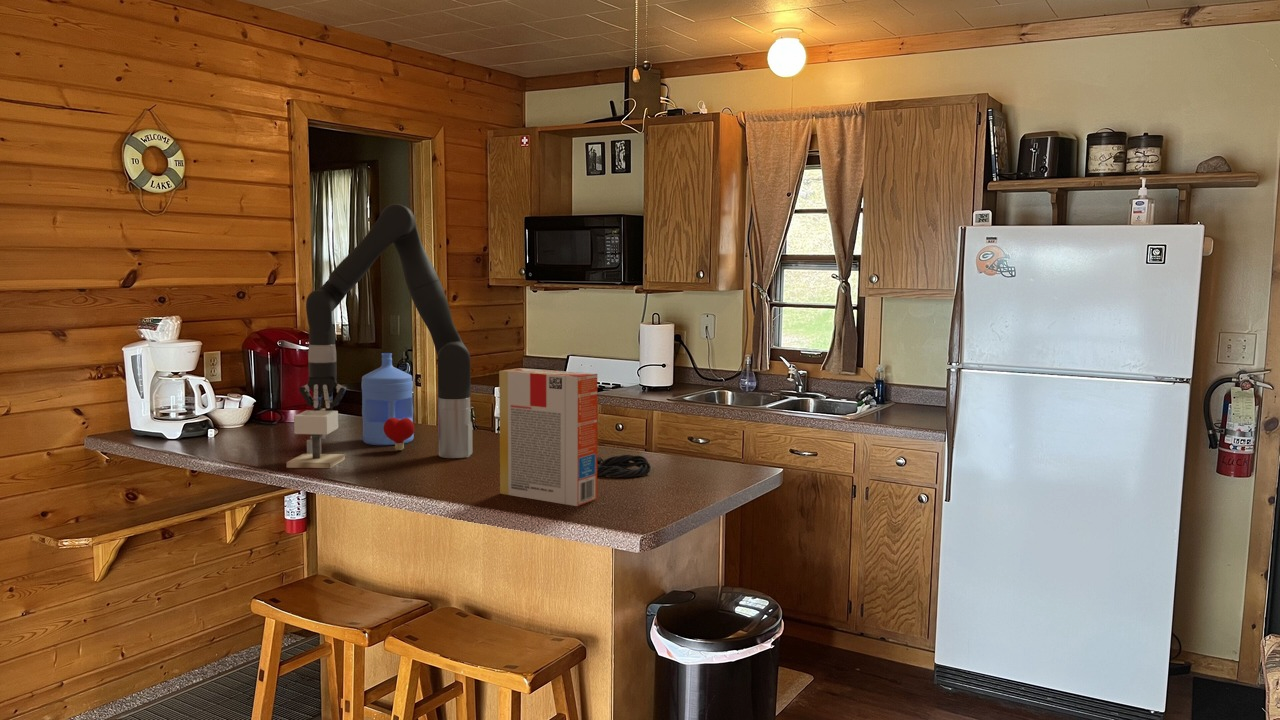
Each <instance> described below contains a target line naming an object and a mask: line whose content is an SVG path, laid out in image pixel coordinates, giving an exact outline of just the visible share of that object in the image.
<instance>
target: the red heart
mask: <svg viewBox="0 0 1280 720" xmlns="http://www.w3.org/2000/svg"><path fill="white" fill-rule="evenodd" d="M415 427H416V426H415V424H414V421H413V422H412V421H411V420H410V419H408V418H404V419H401V420H399V419H397V418H390V419H388V420H387V421H386V422H385V424H384V433H385V435H386V436H387V437H388V438H390V439H391V440H393V441H394V442H395V445H394V449H395V450H396V451H397V452H402V451H403V449H405V443H404V442H403V441H404V440H406V439H408V438H410V437H411V436H412V435H413V433H414V434H415V429H416V428H415Z"/></svg>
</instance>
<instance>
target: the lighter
mask: <svg viewBox="0 0 1280 720" xmlns="http://www.w3.org/2000/svg"><path fill="white" fill-rule="evenodd" d="M327 436H328V434H321V435H320V454H323V453H322V441H325V440H326V437H327ZM306 454H312V436H311V435H310V438H309V439H307V440H306Z"/></svg>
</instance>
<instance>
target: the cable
mask: <svg viewBox="0 0 1280 720" xmlns="http://www.w3.org/2000/svg"><path fill="white" fill-rule="evenodd" d="M632 467H637V469H629V468H632ZM650 471H651V465H650V463H649V461H648V459H647V458H646V457H644V456H642V455H631V454H624V455H623V454H622V455H615V456H610V457H608V458H605V459H603V458H602V457H600V456H597V477H600V476H607V477H609V478H612V479H613V478H615V479H617V478H624V479H625V478H626V479H628V478H639V477H644V476H647V475H648V474H649V473H650Z"/></svg>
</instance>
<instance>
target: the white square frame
mask: <svg viewBox="0 0 1280 720" xmlns="http://www.w3.org/2000/svg"><path fill="white" fill-rule="evenodd" d="M325 409H326V407H324V408H322V409H321V410H319V411H315V409H314V410H309V409H306V410H304V411H301V412H300V413H297V414H295V415H294V416H293V425H294V427H293V428H294V435H311V434H327V435H329V434H330V433H332V432H335V431H336V430H337V429H339V411H338V410H332V411H325Z"/></svg>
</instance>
